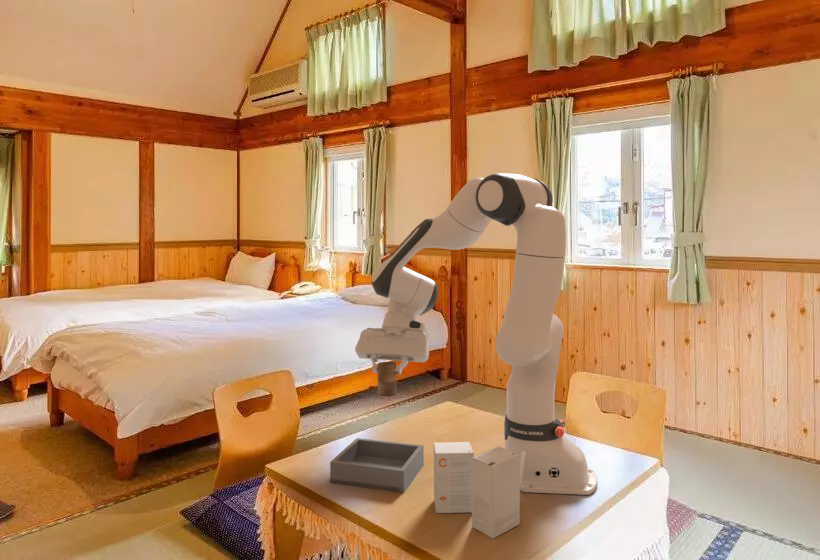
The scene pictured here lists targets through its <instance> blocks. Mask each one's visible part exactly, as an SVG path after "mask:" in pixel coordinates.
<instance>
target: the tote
mask: <svg viewBox="0 0 820 560" xmlns="http://www.w3.org/2000/svg"><path fill="white" fill-rule="evenodd" d="M424 447H425V446H424V445H423V444H414V443H407V442H398V441H397V442H395V441H386V440H377V439H369V438H368V439H367V438H359V437H356V438H355V439H354V440H353V441H351V442H350V443H349V444H348V445H347V446H346V447H345V448H344V449H343V450H341V452H339V454H337V455H336V456H335V457H334V458H333V459H332V460H331V461H329V463H330V464H329V465H330V467H329V468H330V469H329V471H330V475H329V476H330V483H331V482H333V483H332V484H336V483H339V484H338V485H344V484H345V485H346V486H351V487H360V488H366V489H367V488H368V489H375V490H381V491H388V492H389V491H391V492H395V493H396V492H397V493H403V494H404V493H405V492H406V490H407V489H408V488H409V486H410V485H411V483H412V482H413V481H414V479H415V478H416V476H417V475H418V473H419V472H420V471H421V469H422V468H423V466H424V465H425V464H424V457H425V456H424V455H425V454H424V450H425V449H424Z"/></svg>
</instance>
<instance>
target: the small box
mask: <svg viewBox="0 0 820 560" xmlns="http://www.w3.org/2000/svg"><path fill="white" fill-rule="evenodd" d="M474 454H475V453H474V450H473V448H472V445H471V441H460V442H459V441H455V442H454V441H453V442H452V441H451V442H450V441H448V442H446V441H445V442H433V500H434V509H435V514H453V513H454V514H458V513H462V514H463V513H466V514H467V513H471V514H472V457H474V456H475V455H474Z"/></svg>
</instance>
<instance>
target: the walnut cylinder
mask: <svg viewBox="0 0 820 560" xmlns="http://www.w3.org/2000/svg"><path fill="white" fill-rule="evenodd" d="M376 364H377V372H378V373H377V395H378V396H380V397H381V396H382V397H393V396H396V395H397V393H398V392H397V387H398V386H397V374H395V366H396V365H397V363H396V362H393V361H382V362H377V363H376Z"/></svg>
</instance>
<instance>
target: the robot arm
mask: <svg viewBox="0 0 820 560" xmlns="http://www.w3.org/2000/svg"><path fill="white" fill-rule="evenodd" d="M553 199H554V198H553V194H552V191H551V189H550V188H549V186H548V185H547V184H546V183H545V182H543V181H541V180H539V179H537V178H531V177H527V176H526V175H525V176H524V175H523V174H517V173H505V172H500V173H498V172H497V173H492V174H490V175H487V176H486V177H473V178H472V179H470V180H468V181H467V183H466V184H465V185H463V187H462V188H461V189H460V190H459V191H458V192H457V194H455V196H454V197H453V199H452V200H451V201H450V203H449V204H448V206H447V207H446V209H445V210H444V211H443V212H442V213H440V214H438V215H437V216H435V217H433V218H425V219H424V220H422V221H421V222H420V223H419V224H418V225H417V226H416V227H415V228H414V229H413V230H412V231H411V232H410V233H409V234H408V235H407V237H406V238H405V239H403V241H402V242H401V243H400V244H399V245H398V246H397V247H396V248H395V250H393V251H392V253H390V255H389V256H387V257H386V259H384V260H383V261H381V263H380V264H379V265H378V266H377V267H376V269H375V270H374V272H373V274H372V278H371V281H370V282H371V286H372V288H373V291H374V292H375V294H376V295H378V296H380V297H383V298H386V299H389V301H388V304H387V312H386V313H385V314H384V319H383V322H382V325H381V328H379V327H375V328H373V327H367V328H366V329H363V330H362V331H361V332H360V335H359V338H358V341H357V343H356V346H355V348H354V351H355V353H356V355H357V357H358V358H359V359H364V360H365V359H366V360H371V363H372V365H371V372H372V373H376V374H378V372H377V364H378V363H379V360H383V361H395V362H396V361H397V362H400V363H399V364H398V365H397V364H396V366H395V374H396V375H402V372H403V370H404V369H405V368H406V367H407V366H408V364H409V362H412V363H413V362H415V363H425V362H427V361H428V360H429V357H430V356H429V355H430V342H429V340H430V339H429V338H430V335H429V331H428V329H427V326H426V324H425V323H423V322H421V321H419V320H416V318H417V316H422V315H425V314H427V313H429V312H430V311H431V310H432V309H434V306H435V305H436V302H437V298H438V294H439V289H438V286H437V283H436V281H435V280H433V279H431V278H430V277H427V276H425V275H424V274H421V273H418V272H416V271H414V270H412V269H411V268H408V267H406V265H407V264H408V262H410V260H411V259H412V258H413V257H414V256H415V255H416V254H417V253H418V252H419V251H420V250H423V249H428V248H437V249H446V250H450V251H451V250H452V251H455V250H458V251H460V250H464V249H467V248H470V247H471V246H473V245H474V244H475V243H476V242H477V241H478V240H479V238H480V237H481V236H482V235H483V233H484V232H485V230H486V229H487V228H488V226H489V224H490V223H491V222H492V220H493V221H496V222H498V223H500V224H502V225H504V226H506V227H508V226H511V225H512V226H513V227H514V229H515V231H516V235H517V240H516V249H515V250H516V251H515V256H514V257H515V258H514V266H513V275H512V282H511V283H512V284H511V288H510V294H509V296H508V299H507V304H506V307H505V309H504V314H503V319H502V322H501V325H500V328H499V329H498V331H497V334H496V335H495V341H494V344H495V345H494V346H495V351H496V353H497V355H498V356H499V358H500V359H501V360H502V361H503V362H504V363H506V364H508V365H511V371H510V373H509V378H508V380H507V383H506V414H505V417H504V421H503V423H504V424H503V436H504V440H505V442H504V443H505V444H504V449H507V450H509V451H512V452H514V453H516V454H519V455H520V492H523V493H536V494H537V493H538V494H540V493H541V494H561V495H583V496H584V495H591V494H592V493H594V492H595V491H596V489H597V488H598V477H597V474H596V472H595V471H594V470H593V468H591V467H589V466H588V462H587V459H586V456H585V453H584V451H583V450H582V449H581V448H580V447H579V445H577V444H575V443H574V442H573V441H571V440H570V439H569V438H567V436H565V428H564V424H563V420H562V419H561V418H560V419H558V418H556V417H555V399H556V398H555V393H556V391H555V389H556V380H557V375H558V374H557V373H558V369H559V364H560V358H561V357H560V355H561V348H562V343H563V342H562V341H563V337H564V335H565V334H564V333H565V331H564V330H565V329H564V325H563V322H562V321H561V319H560V318H559V317H558V316H557V315H556V314H554V313H555V308H556V307H557V306H556V305H557V302H558V299H559V297H560V295H561V292H562V285H563V284H562V283H563V276H564V269H565V268H564V267H565V257H566V249H567V231H566V219H565V216H564V214H563V213H562V211H560V210H559V209H557V208H555V207H552V205H553V201H554V200H553Z"/></svg>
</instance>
